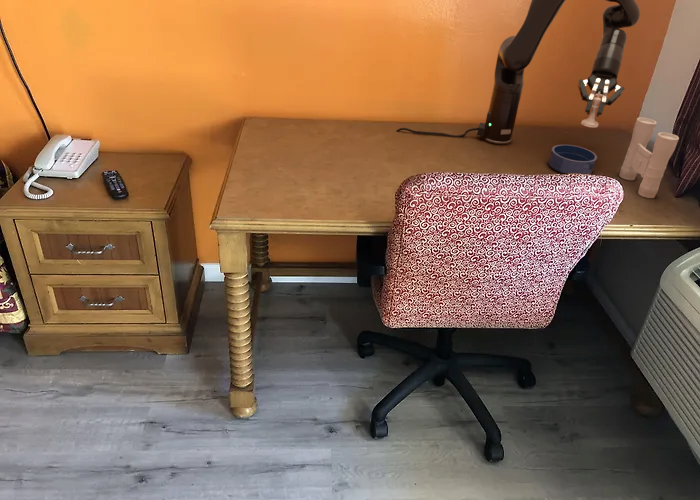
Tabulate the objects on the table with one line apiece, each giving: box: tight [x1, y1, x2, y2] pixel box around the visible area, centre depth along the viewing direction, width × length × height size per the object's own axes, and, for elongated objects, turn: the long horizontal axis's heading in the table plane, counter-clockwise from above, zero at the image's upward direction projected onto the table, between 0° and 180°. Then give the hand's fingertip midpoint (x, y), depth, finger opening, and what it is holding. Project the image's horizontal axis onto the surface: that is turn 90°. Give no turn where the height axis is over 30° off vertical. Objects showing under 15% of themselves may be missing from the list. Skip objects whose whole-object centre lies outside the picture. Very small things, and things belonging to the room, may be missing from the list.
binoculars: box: [618, 116, 680, 199], centre depth 175 cm, size 17×5×18 cm, turn 5°
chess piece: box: [580, 92, 602, 129], centre depth 179 cm, size 5×5×10 cm
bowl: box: [548, 144, 598, 175], centre depth 186 cm, size 13×13×5 cm
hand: (593, 114), depth 178 cm, fingers closed on chess piece
